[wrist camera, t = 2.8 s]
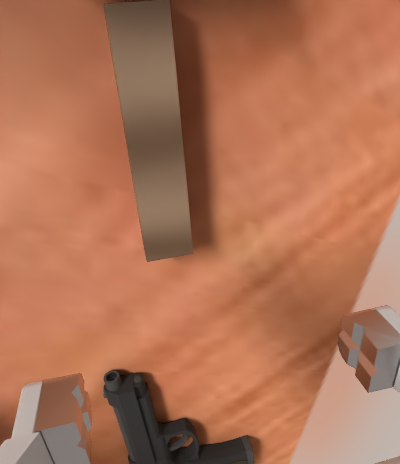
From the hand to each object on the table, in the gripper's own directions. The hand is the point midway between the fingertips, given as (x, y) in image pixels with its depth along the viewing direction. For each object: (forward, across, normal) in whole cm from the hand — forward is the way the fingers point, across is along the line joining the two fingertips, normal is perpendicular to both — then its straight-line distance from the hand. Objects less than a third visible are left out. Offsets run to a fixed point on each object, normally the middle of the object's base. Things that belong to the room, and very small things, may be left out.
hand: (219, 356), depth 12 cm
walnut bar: (+15, 0, +3) cm, 16 cm away
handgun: (+16, 0, -25) cm, 29 cm away
